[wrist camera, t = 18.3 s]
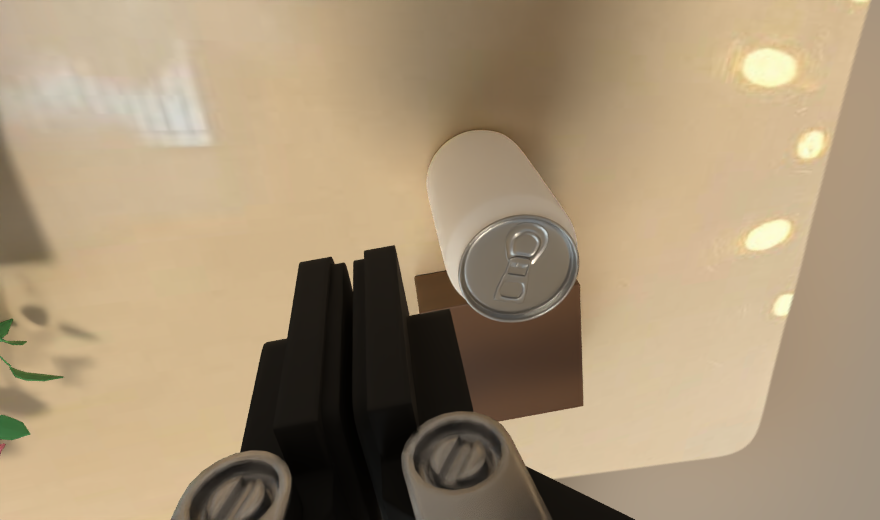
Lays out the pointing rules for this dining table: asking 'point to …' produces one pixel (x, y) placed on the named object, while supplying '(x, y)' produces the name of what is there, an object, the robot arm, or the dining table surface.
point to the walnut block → (513, 353)
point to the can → (500, 228)
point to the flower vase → (3, 424)
